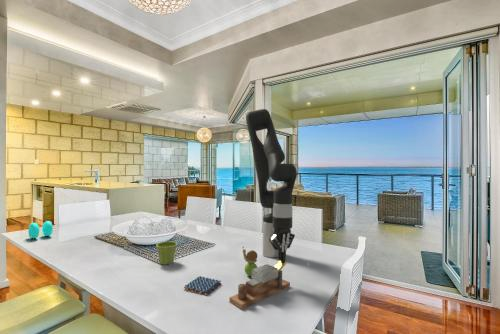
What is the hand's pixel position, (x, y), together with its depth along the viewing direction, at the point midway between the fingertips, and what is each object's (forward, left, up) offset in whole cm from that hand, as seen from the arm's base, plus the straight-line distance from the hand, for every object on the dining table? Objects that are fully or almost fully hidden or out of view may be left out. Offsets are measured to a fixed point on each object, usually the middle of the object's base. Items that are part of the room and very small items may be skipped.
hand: (282, 260), depth 95 cm
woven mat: (+24, -18, -10) cm, 31 cm away
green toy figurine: (+4, -14, -9) cm, 17 cm away
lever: (+4, 0, -3) cm, 5 cm away
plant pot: (+24, -50, -9) cm, 56 cm away
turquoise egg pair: (+66, -140, -10) cm, 155 cm away
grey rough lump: (+9, 0, -4) cm, 10 cm away
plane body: (+11, 0, -9) cm, 14 cm away
